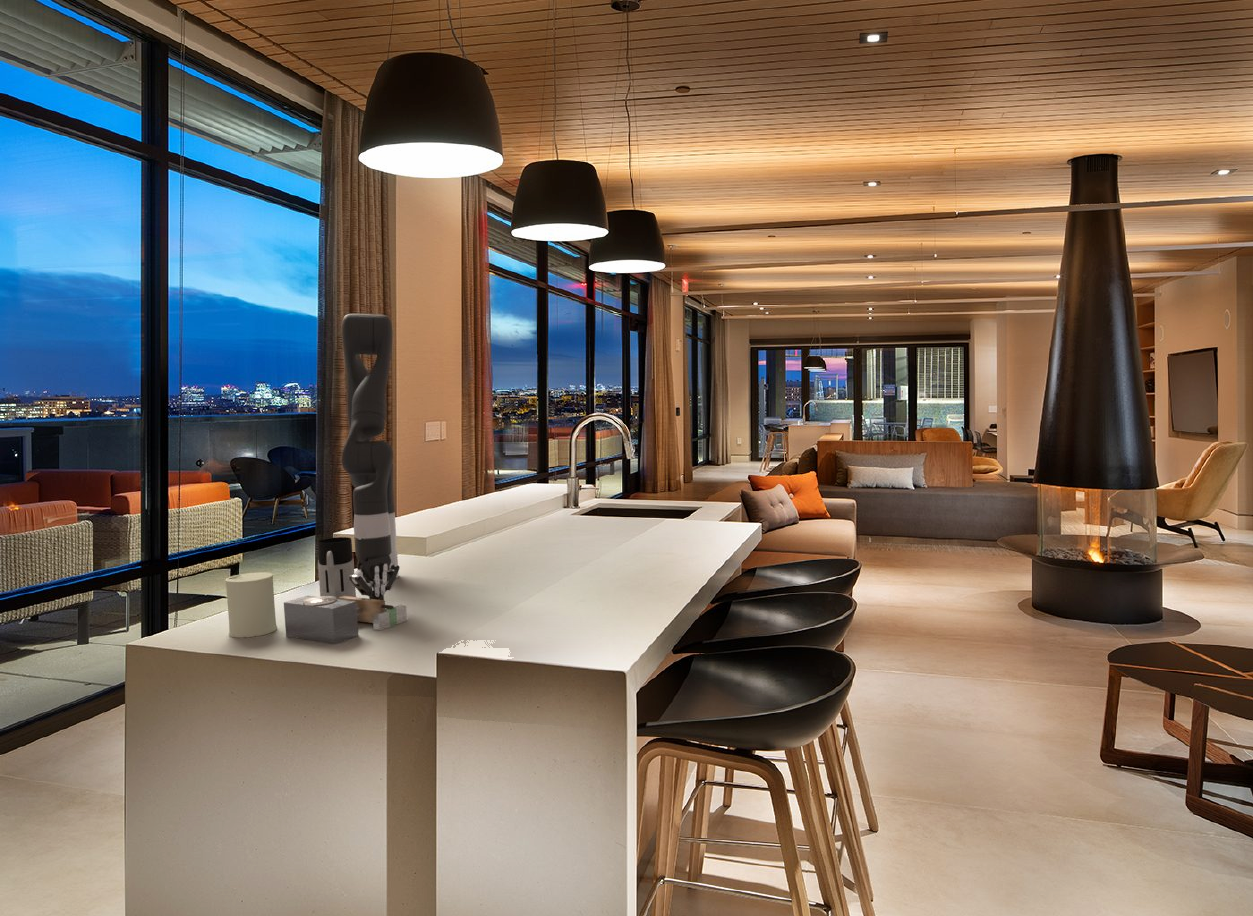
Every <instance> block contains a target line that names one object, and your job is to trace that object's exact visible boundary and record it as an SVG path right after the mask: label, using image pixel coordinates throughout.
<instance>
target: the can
mask: <svg viewBox="0 0 1253 916" xmlns="http://www.w3.org/2000/svg"><path fill="white" fill-rule="evenodd" d="M224 582H225V589H226V590H225V591H226V598H227V599H226V600H227V611H228V612H227V613H228V626H229V627H228V628H229V630H228V631H229V632H228V635H229V636H230V637H232V638H237V639H238V638H239V639H240V638H241V639H242V638H243V637H247V638H255V637H254V636H256V637H260V636H266V635H267V634H271V633H273V632H275V631H277V629H278V626H277V618H276V606H275V605H276V604H275V594H274V593H275V592H274V590H275V589H274V574H273V573H272V572H265V571H263V572H262V571H261V572H260V571H258V572H255V571H254V572H248V573H241V574H237V575H236V574H234V575H231V576H229V577H227V578H226V579H225V580H224ZM243 639H244V638H243Z"/></svg>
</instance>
